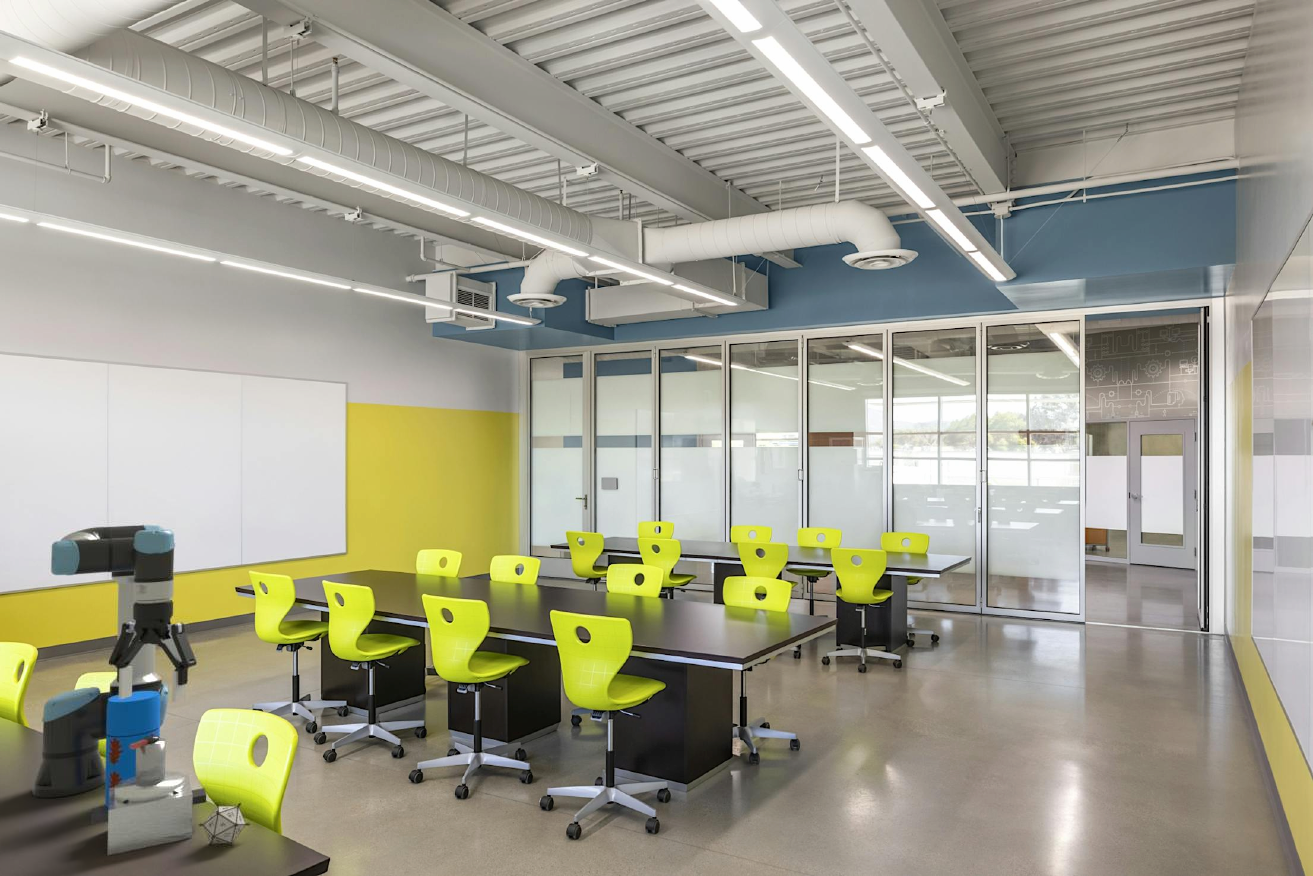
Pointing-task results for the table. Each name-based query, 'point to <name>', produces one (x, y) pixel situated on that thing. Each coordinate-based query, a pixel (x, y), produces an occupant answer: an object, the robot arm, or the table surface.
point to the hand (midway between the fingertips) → (151, 699)
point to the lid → (149, 774)
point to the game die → (224, 824)
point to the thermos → (128, 733)
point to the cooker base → (148, 819)
